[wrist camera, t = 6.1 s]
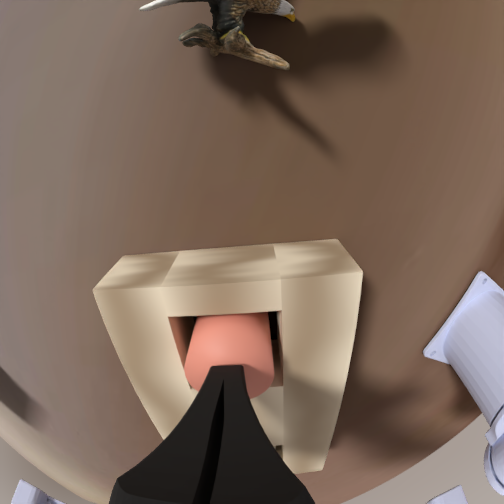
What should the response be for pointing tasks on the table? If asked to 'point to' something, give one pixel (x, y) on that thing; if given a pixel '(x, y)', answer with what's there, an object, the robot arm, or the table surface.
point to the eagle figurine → (232, 28)
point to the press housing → (235, 302)
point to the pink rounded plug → (232, 349)
